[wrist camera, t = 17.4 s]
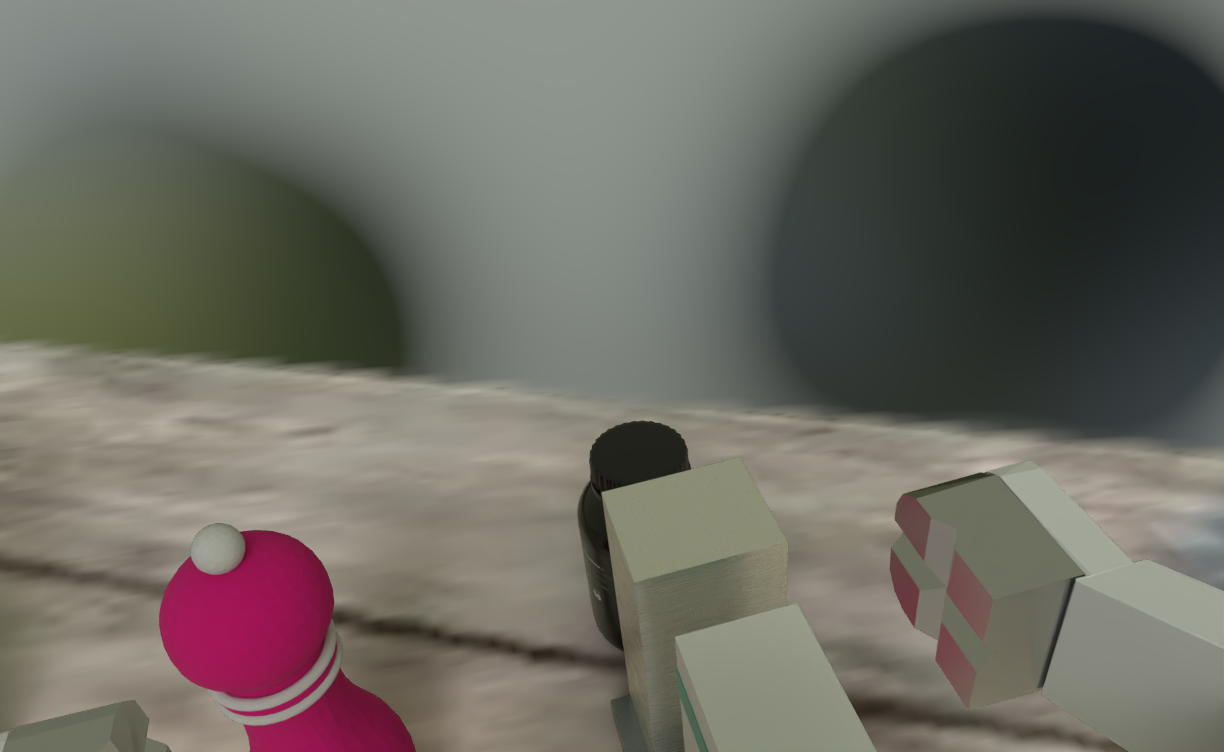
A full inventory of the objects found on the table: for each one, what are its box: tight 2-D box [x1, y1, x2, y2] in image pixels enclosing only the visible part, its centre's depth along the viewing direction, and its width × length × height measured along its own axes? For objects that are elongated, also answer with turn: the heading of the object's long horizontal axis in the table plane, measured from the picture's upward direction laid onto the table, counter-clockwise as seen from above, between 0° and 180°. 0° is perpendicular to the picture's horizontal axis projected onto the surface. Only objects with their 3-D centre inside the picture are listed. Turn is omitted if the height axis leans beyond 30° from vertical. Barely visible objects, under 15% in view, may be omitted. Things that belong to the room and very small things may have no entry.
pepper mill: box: [159, 523, 416, 752], centre depth 38 cm, size 7×7×20 cm
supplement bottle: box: [578, 421, 691, 651], centre depth 49 cm, size 7×7×12 cm
